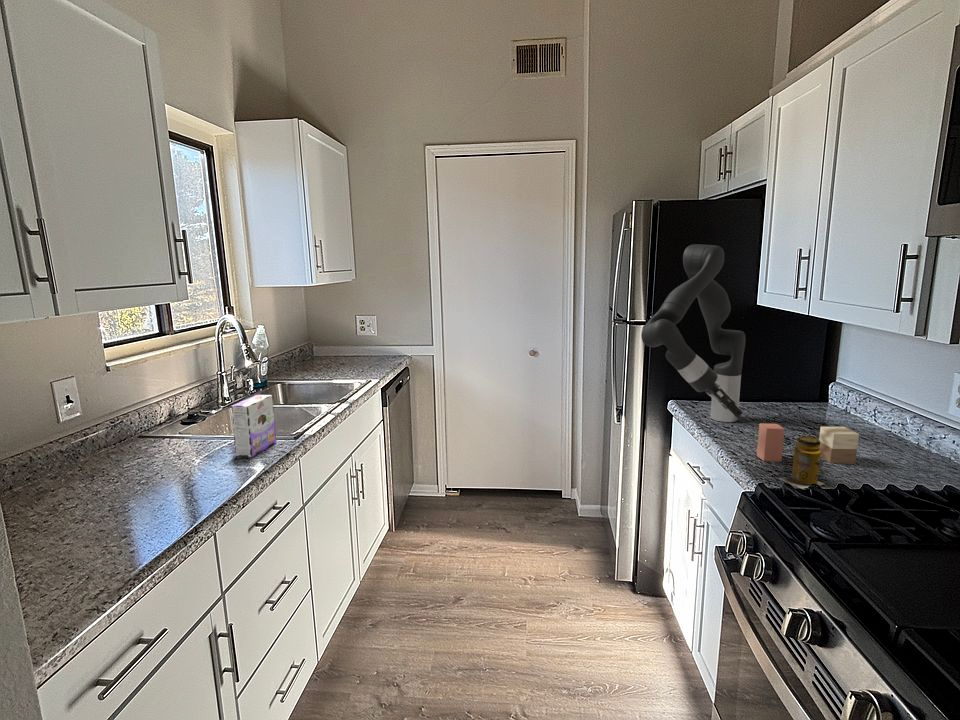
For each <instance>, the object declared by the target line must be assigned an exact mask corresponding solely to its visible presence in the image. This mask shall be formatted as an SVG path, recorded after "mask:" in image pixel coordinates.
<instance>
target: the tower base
mask: <svg viewBox="0 0 960 720" xmlns="http://www.w3.org/2000/svg"><path fill="white" fill-rule="evenodd" d="M820 451H821V457H820V458H822V459H823V460H825V461H826V462H827V463H830V464H847V465H848V464H849V465H850V464H853V465H854V464H856V462H857V461H856V460H857V452H858V448H857V449H832V448H830V447H828V446H827V445H825V444H823V443H822V442H820Z"/></svg>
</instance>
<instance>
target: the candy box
mask: <svg viewBox="0 0 960 720" xmlns="http://www.w3.org/2000/svg"><path fill="white" fill-rule="evenodd" d="M230 408H231V409H230V410H231V419H232V429H233V430H232V431H233V438H234V439H233V441H234V450H235V451H234V452H235V457H243V458H244V457H245V458H253V457H255V456H256V455H258V454H259V453H261V452H262V451H264V450H266V449H268V448H269V447H270V446H272V445H275V443H277V434H276V425H275V424H276V423H275V422H276V421H275V413H274V401H273V395H272V394H255V395H253V396H251V397H248V398H245V399H243V400H242V401H239V402H237V403H235V404H233V405H230Z"/></svg>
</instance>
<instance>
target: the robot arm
mask: <svg viewBox="0 0 960 720" xmlns="http://www.w3.org/2000/svg"><path fill="white" fill-rule="evenodd" d="M724 263H725V252H724V249H723V248H722V247H721V246H720V245H714V244H696V243H695V244H690V245H688V246H687V247H686V248H685V249H684V251H683V254H682V264H683V269H684V271H685V273H686V275H687V277H688V279H687V280H686V281H684V282H683V283H681V284H680V285H678V286H677V287H675V288H674V289H673V290H672V291H671V292H669V294H668V295H667V297H666V298H665V300H664V301H663V303H662V304H661V306H660V308H659V309H658V311H657V312H655V314H653V316H652V317H651V318H650V319H649V320H648V321H647V322H646V324H645V325H644V326H643V328H642V331H641V333H640V334H641V335H640V336H641V341H642V343H643V344H644V345H645V346H646V347H649V348H656V347H660V346H662V345H664V346H665V347H666V349H667V350H666V352H665V358H666V359H665V360H667V361H668V362H669V363H670V364H671V366H673V367H674V368H675V370H677V372H678V373H679V374H680V376H681V377H682V378H683V379H684V380H685V381H686V382H687V383H688V384H689V385H690V386H691V388H693V389H694V390H695V391H696V392H697V393H702V392H705V393H706V395H708V396H709V397H710V398H711V406H710V415H709V416H710V417H709V418H710V419H712V420H714V421H717V422H724V423H734V422H737V421H738V418H739V417H740V416H741V415H742V414H743V411H742V410H741V409H740V408H739V405H740V395H741V393H740V392H741V381H742V380H741V379H742V370H743V363H744V353H745V350H746V349H745V348H746V334H745V332H744V331H742V330H735V329H726V328H725V329H724V328H722V327H721V326H722V325H723V323H725V321H726V319H728V317H729V315H730V313H731V311H732V307H731V302H730V299H729V295H728V293H727V291H726V289H724V287H723V286H721V284H719V282H717V281H716V280H714V279H715V278H716V276H717V275H718V274H719V273H720V271H721V270H722V268H723V266H724ZM696 298H697V301H698V305H699V309H700V311H701V314H702V317H703V318H704V321H705V325H706V329H707V332H708V334H707V335H708V338H709V343H710V347H711V350H712V351H713V353H715V354H718V355H722V356H723V355H724V356H731V357H730V359H729V360H728V361H726V362H721V363H720V362H719V363H717V364H715V365H714V367H713V369H712V368H711V367H710V366H709V365H708V364H707V362H706V361H705V360H704V359H703V358H702V357H700V356H699V355H698V354H696V352H695V351H694V350H693V349H692V348H691V347H690V346H689V345H688V344H687V343H686V341H685V339H684V337H683V335H682V334H681V332H680V330H679V328H678V327H677V324H678V323H680V322H681V321H682V320H683V318H684V316H685V315H686V314H687V311H688V310H689V309H690V306H691V305H692V303H693V302H694V301H695V300H696Z"/></svg>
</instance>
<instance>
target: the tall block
mask: <svg viewBox="0 0 960 720" xmlns="http://www.w3.org/2000/svg"><path fill="white" fill-rule="evenodd" d="M757 437H758V438H757V447H756V456H757V457H758V456H759V457H758V458H760V459H761V460H762V461H763V462H782V459H783V458H782V457H783V449H784V439H785V438H784V437H785V428H784V427H783V426H781V425H780V424H778V423H759V426H758V436H757Z"/></svg>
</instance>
